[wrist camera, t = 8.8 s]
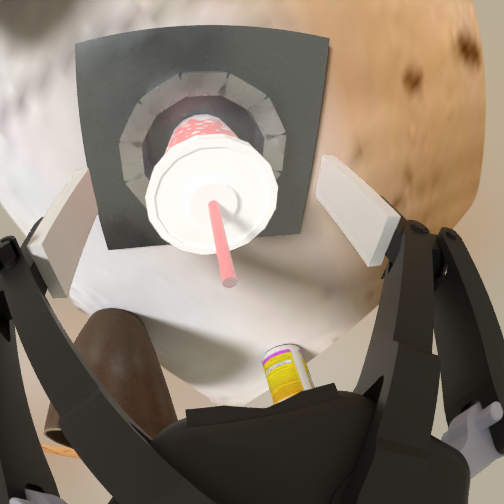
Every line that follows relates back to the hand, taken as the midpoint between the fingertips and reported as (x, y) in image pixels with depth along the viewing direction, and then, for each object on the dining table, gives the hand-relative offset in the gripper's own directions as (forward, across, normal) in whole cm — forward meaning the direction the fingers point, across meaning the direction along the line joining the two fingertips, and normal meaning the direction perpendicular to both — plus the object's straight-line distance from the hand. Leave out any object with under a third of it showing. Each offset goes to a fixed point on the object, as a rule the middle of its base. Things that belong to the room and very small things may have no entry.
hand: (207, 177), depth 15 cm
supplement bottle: (+7, +11, -34) cm, 36 cm away
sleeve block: (+7, 0, 0) cm, 7 cm away
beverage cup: (+6, 0, 0) cm, 6 cm away
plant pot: (+7, -12, -22) cm, 26 cm away
